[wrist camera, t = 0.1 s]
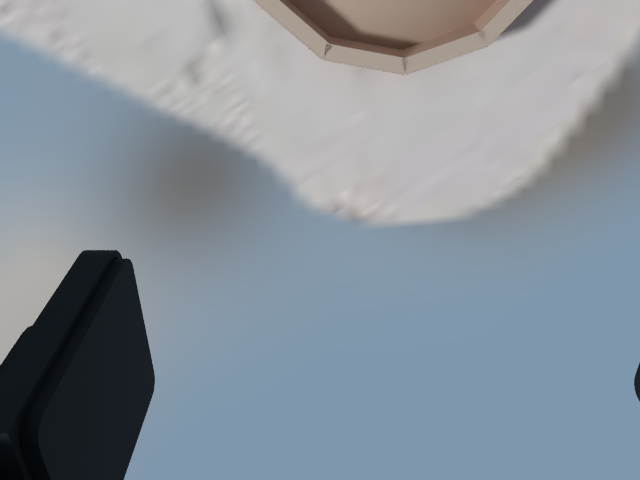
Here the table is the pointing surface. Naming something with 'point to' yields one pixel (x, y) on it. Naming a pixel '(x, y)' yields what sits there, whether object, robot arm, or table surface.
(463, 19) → the saucer
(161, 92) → the table surface
